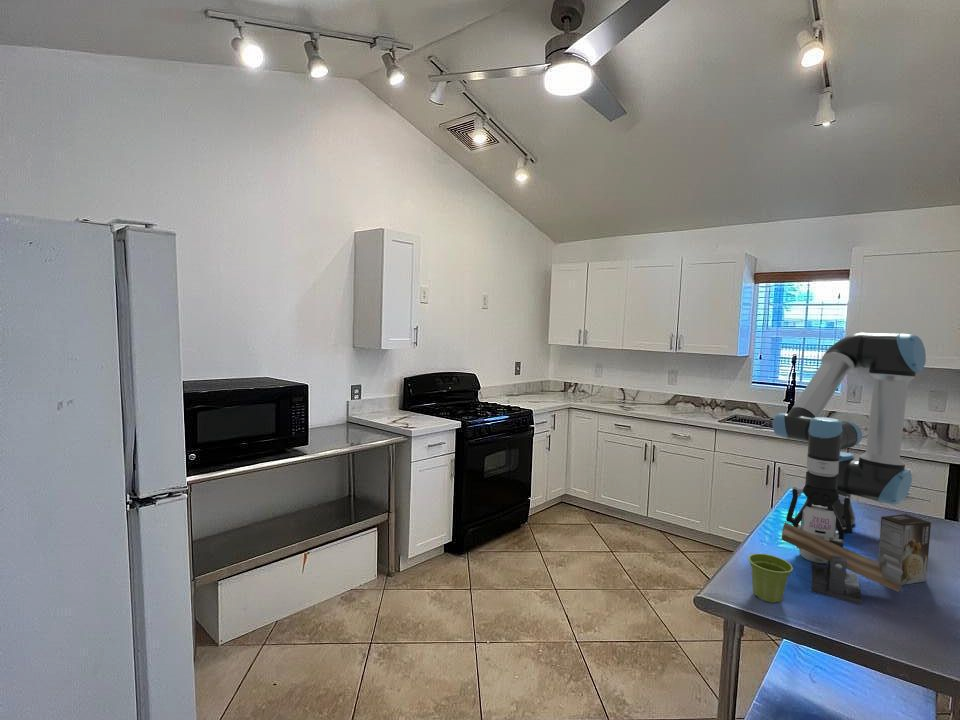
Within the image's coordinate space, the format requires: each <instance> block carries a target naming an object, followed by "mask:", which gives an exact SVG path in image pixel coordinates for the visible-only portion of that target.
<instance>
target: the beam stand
mask: <svg viewBox="0 0 960 720" xmlns="http://www.w3.org/2000/svg"><path fill="white" fill-rule="evenodd" d="M829 542H832V543H834V544H836V545H839V546H841V547H843V548H844V540H840V539H836V538H831V537H829ZM846 563H847V561H846V558H842V557H838V556H833V555H831V562H830V561H828V563H827V565H824V564H823V565H822V564H820V563H816V562H811V565H810V566H811V567H810V568H811V572H812V574H811V593H813V594H818V595H821V596H826V597H830V598H833V599H837V600H840V601H841V600H842V601H845V602H849V603H853V604H857V605H860V606H862V605H863V598H862V593H861V588H860V583H859V577H858V574H857V573H855V572H853V571H850V570H847V569H846ZM811 572H810V573H811Z"/></svg>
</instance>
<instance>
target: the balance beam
mask: <svg viewBox="0 0 960 720" xmlns="http://www.w3.org/2000/svg"><path fill="white" fill-rule="evenodd" d="M781 541H783V542H786V543H789V544H790V545H793V546H795V547H796V546H797V547H799V548H801V549H804V550H806V551H808V552H810V553H812V554H815V555H817V556H819V557H821V558H824V559H826V560H828V561H830V562H831V555H833V556H838V557H842V558H846V561H847V563H846V570H847V571H849V572H854V573H857V575H860V576H862V577H864V578H866V579H869V580H871V581H873V582H875V583H878V584H880V585H882V586H884V587H886V588H888V589H890V590H893V591H895V592H898V593H899V592H900V589H901V587H902V585H900V582H899V580H900V578H901V576H902V574H903V571H902V569H901V566H900V564H899V561H898V560H897V559H895V558H892V557H890V556H888V555H885V554H883V556H882V558H881V560H880V563H878V561H875V560H873V559H871V558H868V557H866V556H865V555H864V556H863V555H861V554H859V553H857V552H855V551H853V550H850V549H848V548H845V547H844V546H843V547H841V546H839V545H836V544H834V543H832V542H829V541H827V540H825V539H822V538H820V537H818V536H816V535H813V534H811V533H809V532H806V531H804V530H802V529H799V528H797V527H795V526H793V524H790V523H789V522H784V524H783V526H782V531H781Z"/></svg>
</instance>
